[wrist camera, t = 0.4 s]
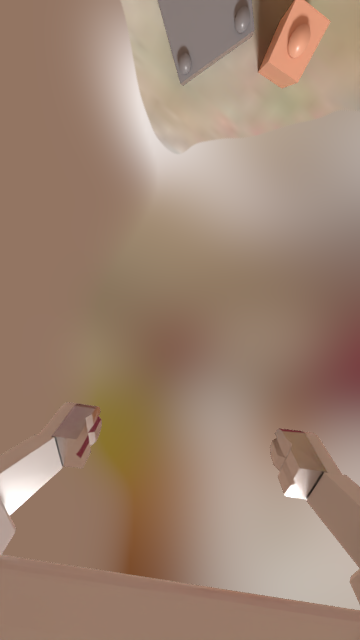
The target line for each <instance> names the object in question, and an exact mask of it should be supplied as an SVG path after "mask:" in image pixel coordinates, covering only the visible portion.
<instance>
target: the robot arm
mask: <svg viewBox="0 0 360 640" xmlns="http://www.w3.org/2000/svg"><path fill="white" fill-rule="evenodd" d="M99 414H100V408H99V407H97V406H91V405H84V404H77V403H70V402H66V403H65V404H63V405H62V406H61V408H60V409H59V410H58V411H57V413H56V414H55V415H54V416H53V417H52V419H51V420H50V421H49V422H48V424H47V425H46V426H45V427H44V429H43V430H42V431H41V432H40V433H39V435H33V436H32V437H30V438H28V439H27V440H25V441H23V442H22V443H20V444H18V445H17V446H15V447H13V448H12V449H10V450H8V451H7V452H5V453H4V454H1V455H0V640H360V610H354V609H347V608H340V607H335V606H328V605H322V604H315V603H309V602H302V601H296V600H289V599H283V598H276V597H270V596H264V595H257V594H251V593H244V592H238V591H232V590H225V589H219V588H212V587H205V586H199V585H193V584H186V583H180V582H173V581H167V580H161V579H154V578H147V577H142V576H135V575H129V574H122V573H115V572H109V571H103V570H96V569H90V568H84V567H77V566H70V565H64V564H57V563H51V562H45V561H39V560H32V559H26V558H19V557H13V556H6V555H2V553H3V551H4V549H5V548H6V546H7V544H8V543H9V541H10V540H11V538H12V536H13V535H14V533H15V525H14V523H13V522H12V519H11V518H10V514H12V513H13V512H14V511H15V510H16V509H17V508H18V507H20V506H21V505H22V504H23V503H24V502H25V501H26V500H27V499H28V498H29V497H31V496H32V495H33V494H34V493H35V492H36V491H37V490H38V489H39V488H41V487H42V486H43V485H44V484H45V483H46V482H47V481H48V480H49V479H51V477H53V476H54V475H55V474H56V473H57V472H58V471H59V470H60V469H61V468H62V466H64V467H74V468H83V466H84V464H85V463H86V461H87V459H88V456H89V455H90V453H91V450H90V446H91V445H92V444H93V443H95V442H96V440H97V438H98V436H99V434H100V430H101V424H102V422H101V418H100V417H99ZM275 435H276V439H274V440H273V441H272V443H271V445H270V453H271V458H272V461H273V464H274V466H275V467H276V468H277V469H278V470H279V475H278V479H279V481H280V484H281V487H282V490H283V493H284V495H285V496H289V497H294V498H301V499H306V500H307V502H308V504H309V505H310V506H311V507H312V509H313V510H314V511H315V512H316V514H317V515H318V516H319V518H321V520H322V521H323V523H324V524H325V525H326V526H327V528H328V529H329V530H330V531H331V533H332V534H333V535H334V536H335V538H336V539H337V540H338V541H339V543H340V544H341V545H342V546H343V548H344V549H345V550H346V552H347V553H348V554H349V555H350V557H351V558H352V559H353V560H354V562H355V563H356V564H357V566H358V567H359V568H360V487H359V486H358V485H357V484H356V483H355V482H353V481H352V480H351V479H350V478H349V477H347V475H342V473H341V472H340V470H339V469H338V467H337V465H336V464H335V462H334V461H333V459H332V458H331V456H330V455H329V453H328V451H327V450H326V448H325V447H324V445H323V443H322V442H321V440H320V439H319V437H318V436H317V435H316V434H315V433H312V432H304V431H298V430H289V429H277V430H276V432H275ZM350 584H351V586H352V588H353V590H354V592H355V595H356V597H357V599H358V601H359V604H360V569H359V570H358V571H357V572H355V573H354V574H353V575H352V576H351V579H350Z"/></svg>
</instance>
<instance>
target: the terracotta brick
mask: <svg viewBox="0 0 360 640" xmlns="http://www.w3.org/2000/svg"><path fill="white" fill-rule="evenodd" d="M330 22H331V21H330V20H328V19H327V18H326V17H325V16H323V15H322V14H321V13H320V12H318V11H317V10H316V9H315V8H313V7H312V6H311V5H310V4H309V3H307V2H306V1H305V0H294V1H293V3H292V4H291V6H290V7H289V9H288V10H287V12H286V13H285V14H284V16H283V17H282V19H281V20H280V22H279V24H278V26H277V29H276V31H275V33H274V36H273V38H272V40H271V43H270V45H269V48H268V50H267V52H266V55H265V57H264V59H263V62H262V64H261V66H260V69H259V71H258V73H260V74H261V75H263V76H264V77H266V78H267V79H269V80H270V81H272V82H273V83H275V84H276V85H278V86H279V87H280V88H284V87H287V86H289V85H292V84H295V83H297V82H298V81H299V79H300V77H301V75H302V73H303V72H304V70H305V68H306V66H307V64H308V62H309V61H310V59H311V57H312V55H313V53H314V51H315V49H316V48H317V46H318V44H319V42H320V40H321V38H322V36H323V35H324V33H325V31H326V29H327V27H328V25H329V23H330Z"/></svg>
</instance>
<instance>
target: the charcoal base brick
mask: <svg viewBox="0 0 360 640" xmlns="http://www.w3.org/2000/svg"><path fill="white" fill-rule="evenodd" d="M158 3H159V7H160V10H161V14H162V18H163V21H164V25H165V29H166V32H167V36H168V40H169V43H170V47H171V51H172V54H173V58H174V62H175V65H176V69H177V73H178V76H179V80H180V84H181V85H185V84H186V83H188V82H189V81H190V80H192V79H193V78H195V77H196V76H197V75H199V74H200V73H202V72H203V71H204V70H206V69H207V68H209V67H210V66H211V65H213V64H214V63H216V62H217V61H218V60H220V59H221V58H223V57H224V56H225V55H227V54H228V53H230V52H231V51H232V50H234V49H235V48H237V47H238V46H239V45H241V44H242V43H244V42H245V41H246V40H248V39H249V38H251V37H252V35H253V32H254V20H253V9H252V0H158Z"/></svg>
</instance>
